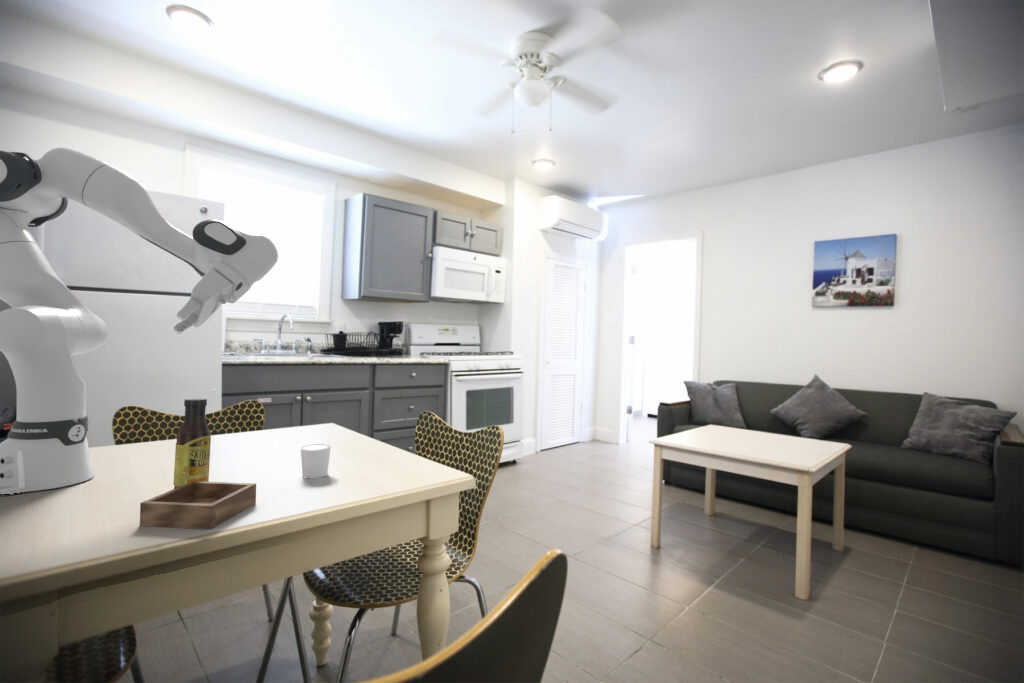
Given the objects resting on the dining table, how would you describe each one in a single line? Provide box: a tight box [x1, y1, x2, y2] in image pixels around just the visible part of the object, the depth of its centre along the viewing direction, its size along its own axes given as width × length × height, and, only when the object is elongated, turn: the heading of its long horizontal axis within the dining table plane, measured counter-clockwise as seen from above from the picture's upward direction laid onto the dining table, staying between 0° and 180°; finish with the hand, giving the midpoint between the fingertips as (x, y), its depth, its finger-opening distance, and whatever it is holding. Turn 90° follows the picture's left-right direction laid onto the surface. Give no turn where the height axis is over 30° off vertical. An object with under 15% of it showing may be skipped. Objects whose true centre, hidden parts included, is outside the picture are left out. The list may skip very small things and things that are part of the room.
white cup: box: [300, 443, 331, 479], centre depth 115 cm, size 7×7×7 cm
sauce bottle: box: [172, 397, 212, 489], centre depth 101 cm, size 7×6×20 cm
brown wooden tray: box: [139, 481, 257, 530], centre depth 88 cm, size 13×13×4 cm
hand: (177, 324), depth 104 cm, fingers open, 8 cm apart
